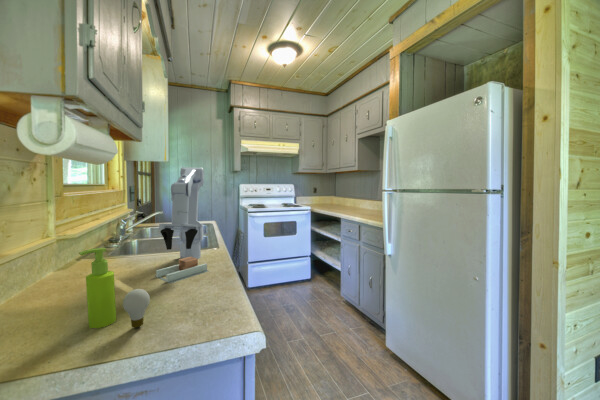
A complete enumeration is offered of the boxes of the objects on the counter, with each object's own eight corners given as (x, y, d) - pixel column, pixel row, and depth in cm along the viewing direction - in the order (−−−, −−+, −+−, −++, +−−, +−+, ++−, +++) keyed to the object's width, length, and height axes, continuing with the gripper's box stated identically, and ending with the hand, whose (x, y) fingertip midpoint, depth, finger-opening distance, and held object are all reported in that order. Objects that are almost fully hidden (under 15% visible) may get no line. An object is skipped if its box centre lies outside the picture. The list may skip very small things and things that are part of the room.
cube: (179, 271, 105) (178, 259, 104) (190, 268, 109) (190, 256, 108) (186, 274, 102) (185, 261, 102) (197, 271, 106) (197, 258, 106)
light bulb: (122, 336, 64) (120, 296, 64) (125, 324, 70) (123, 287, 69) (150, 330, 67) (148, 292, 66) (151, 319, 72) (149, 283, 72)
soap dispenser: (81, 324, 70) (77, 249, 68) (113, 314, 75) (109, 244, 73) (85, 333, 66) (81, 253, 64) (118, 322, 71) (115, 248, 69)
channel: (154, 279, 101) (153, 269, 100) (192, 268, 113) (192, 259, 113) (170, 287, 94) (170, 276, 93) (209, 274, 106) (209, 264, 106)
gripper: (166, 210, 94) (165, 249, 91) (203, 213, 105) (202, 248, 103) (156, 212, 98) (155, 250, 95) (192, 215, 109) (192, 248, 107)
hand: (179, 249), depth 99 cm, fingers open, 7 cm apart
